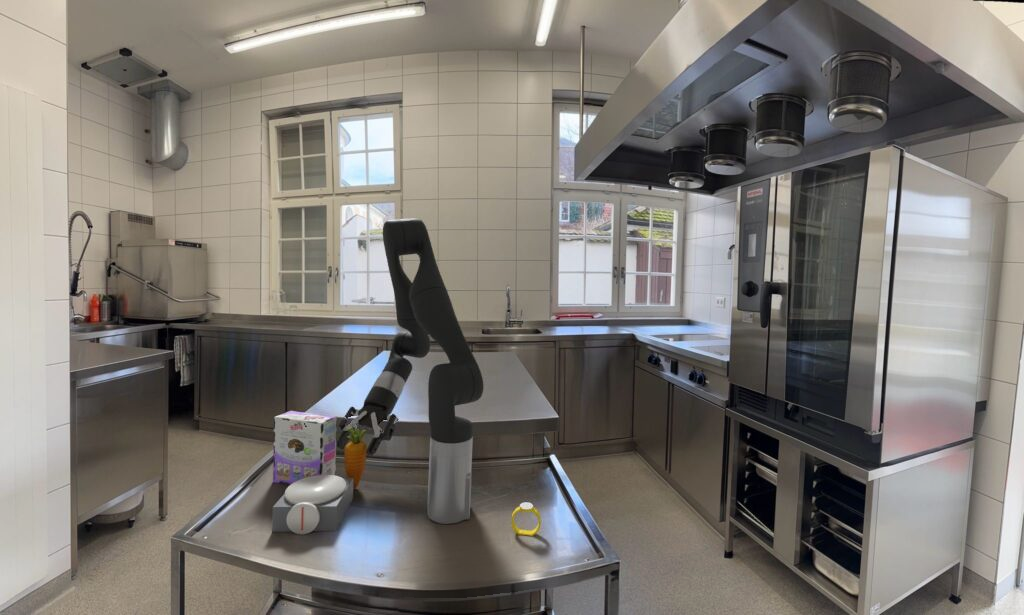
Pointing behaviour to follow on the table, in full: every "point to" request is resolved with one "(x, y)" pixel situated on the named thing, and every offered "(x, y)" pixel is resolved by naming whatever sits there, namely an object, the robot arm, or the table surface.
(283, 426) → the candy box
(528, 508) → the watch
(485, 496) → the table surface
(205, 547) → the table surface
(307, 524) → the scale base
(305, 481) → the scale pan
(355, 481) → the carrot
